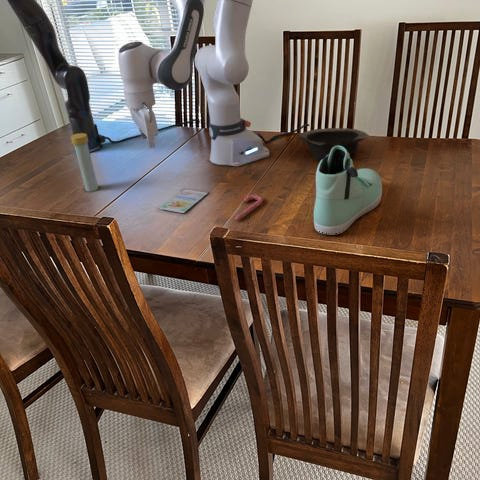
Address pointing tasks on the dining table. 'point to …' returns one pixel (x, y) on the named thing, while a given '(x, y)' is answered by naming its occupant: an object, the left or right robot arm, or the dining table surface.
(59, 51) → the left robot arm
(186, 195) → the baking ingredient package
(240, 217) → the candy cane
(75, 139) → the lid
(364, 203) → the sneaker
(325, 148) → the stone bowl
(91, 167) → the mint green cylinder
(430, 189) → the dining table surface
